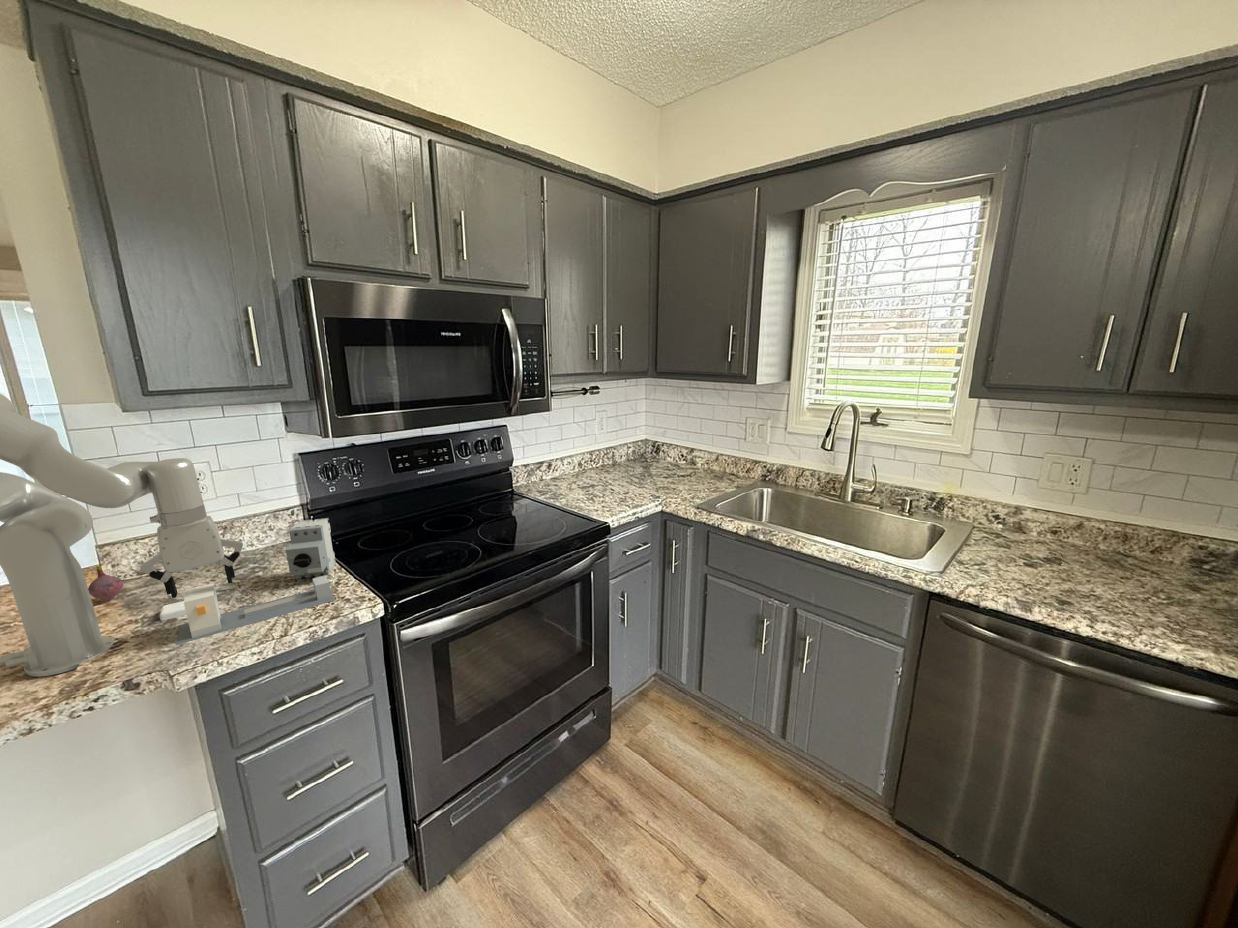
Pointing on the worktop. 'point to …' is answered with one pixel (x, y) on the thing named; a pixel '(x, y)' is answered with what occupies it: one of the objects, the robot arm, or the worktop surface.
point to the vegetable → (105, 586)
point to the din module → (202, 610)
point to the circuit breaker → (310, 549)
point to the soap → (172, 611)
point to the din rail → (280, 604)
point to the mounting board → (239, 620)
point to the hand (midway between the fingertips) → (203, 588)
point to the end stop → (322, 587)
